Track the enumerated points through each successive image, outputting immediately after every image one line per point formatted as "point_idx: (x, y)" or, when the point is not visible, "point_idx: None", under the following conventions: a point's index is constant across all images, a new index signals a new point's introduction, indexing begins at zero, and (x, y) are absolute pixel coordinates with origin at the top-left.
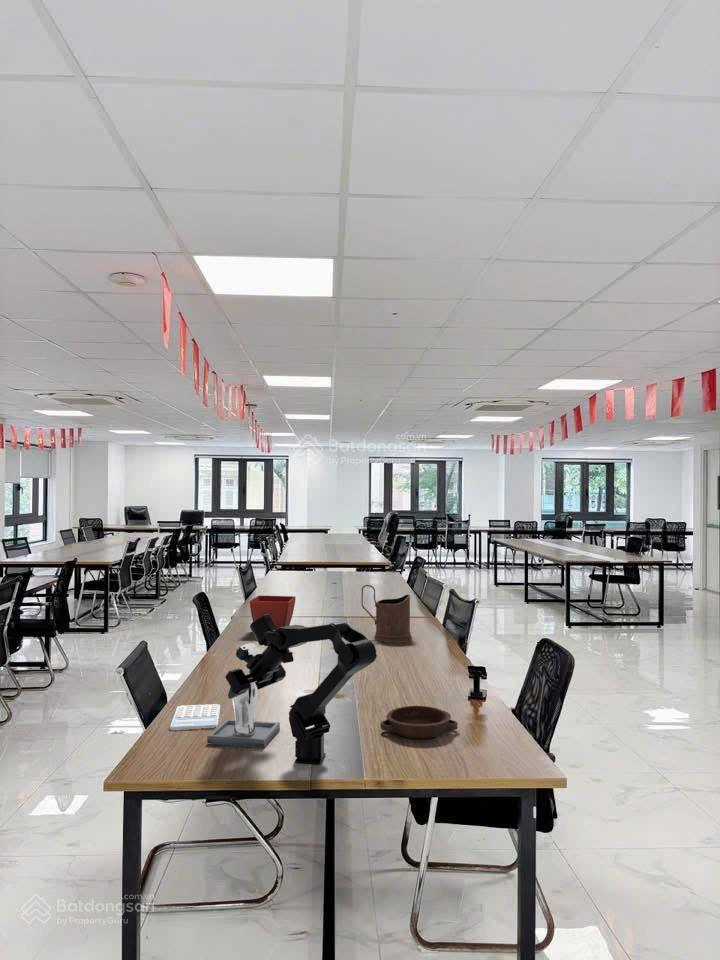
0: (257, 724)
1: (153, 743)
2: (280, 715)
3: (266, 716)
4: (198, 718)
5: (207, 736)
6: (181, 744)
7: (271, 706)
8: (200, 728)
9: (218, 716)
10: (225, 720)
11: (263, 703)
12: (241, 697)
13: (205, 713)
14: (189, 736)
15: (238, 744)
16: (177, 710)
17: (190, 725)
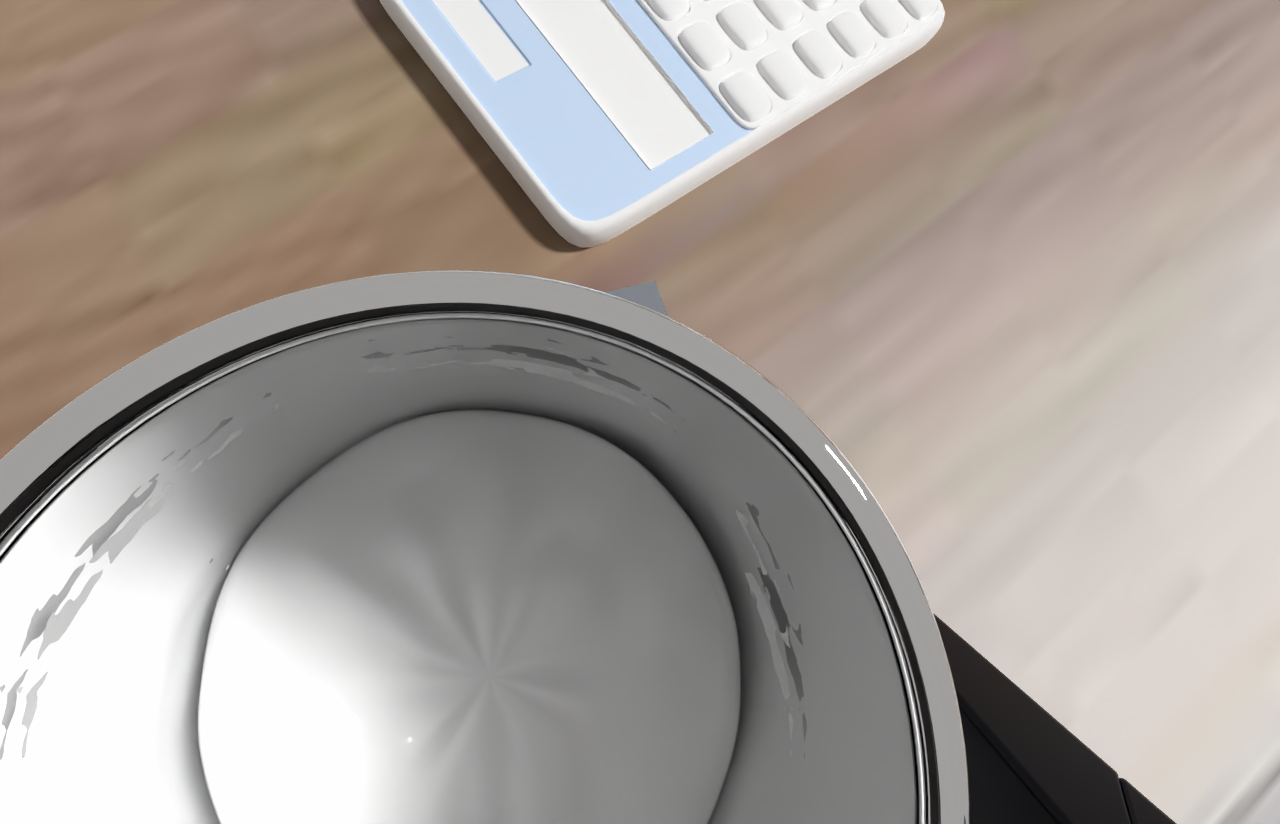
0: None
1: (37, 20)
2: (1073, 527)
3: (994, 441)
4: (636, 38)
5: None
6: (105, 226)
7: (1166, 339)
8: (498, 155)
9: (754, 142)
10: (623, 291)
11: (1172, 250)
12: (182, 812)
13: (733, 32)
14: (312, 176)
15: None
16: None
17: (469, 69)
